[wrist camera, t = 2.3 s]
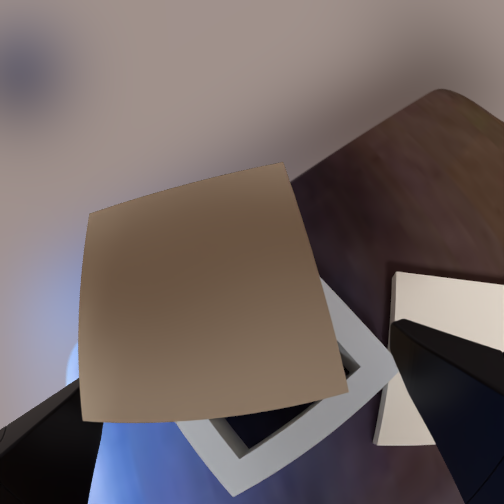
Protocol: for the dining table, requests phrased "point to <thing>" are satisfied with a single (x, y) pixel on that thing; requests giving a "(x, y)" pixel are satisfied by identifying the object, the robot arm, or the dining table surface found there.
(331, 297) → the holder
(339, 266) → the dining table surface
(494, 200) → the dining table surface
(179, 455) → the dining table surface
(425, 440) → the tile
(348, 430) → the dining table surface
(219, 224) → the peg
